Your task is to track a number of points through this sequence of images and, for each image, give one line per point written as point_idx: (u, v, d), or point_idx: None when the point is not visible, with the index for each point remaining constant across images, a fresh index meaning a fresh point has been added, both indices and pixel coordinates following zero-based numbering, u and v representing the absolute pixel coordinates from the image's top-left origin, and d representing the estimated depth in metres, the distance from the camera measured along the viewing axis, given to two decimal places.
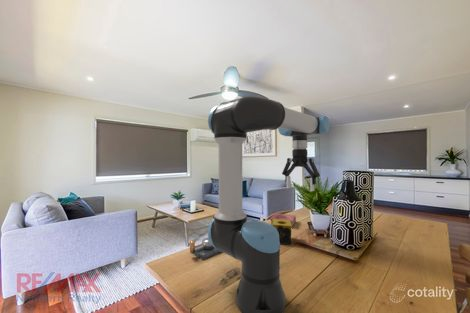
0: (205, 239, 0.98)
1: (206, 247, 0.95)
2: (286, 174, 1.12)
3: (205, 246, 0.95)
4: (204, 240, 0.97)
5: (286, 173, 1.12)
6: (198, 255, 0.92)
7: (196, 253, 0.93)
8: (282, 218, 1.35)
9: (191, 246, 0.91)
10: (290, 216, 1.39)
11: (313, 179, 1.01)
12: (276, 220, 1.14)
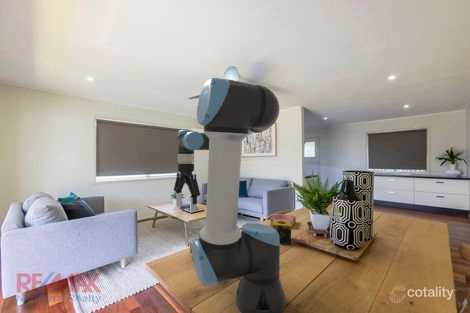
0: None
1: None
2: (176, 191, 1.01)
3: None
4: None
5: (176, 190, 1.01)
6: None
7: None
8: (282, 218, 1.34)
9: (191, 246, 0.91)
10: (290, 216, 1.38)
11: (193, 198, 0.90)
12: (276, 220, 1.14)
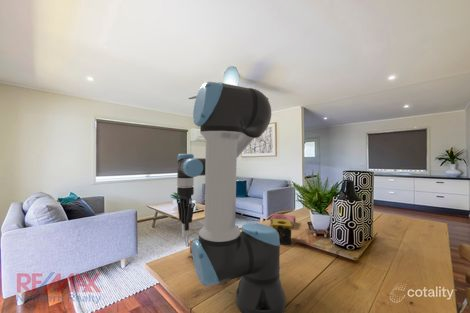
0: None
1: None
2: (181, 220, 0.96)
3: None
4: None
5: (181, 219, 0.97)
6: None
7: None
8: (282, 219, 1.33)
9: (191, 246, 0.91)
10: (290, 217, 1.38)
11: (185, 225, 0.95)
12: (276, 220, 1.14)
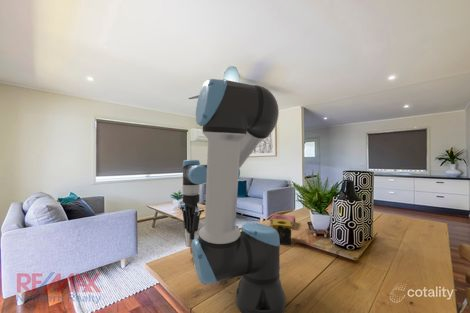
0: None
1: None
2: (187, 228, 0.93)
3: None
4: None
5: (186, 227, 0.93)
6: None
7: None
8: (282, 219, 1.33)
9: None
10: (290, 217, 1.37)
11: (191, 234, 0.91)
12: (276, 220, 1.14)
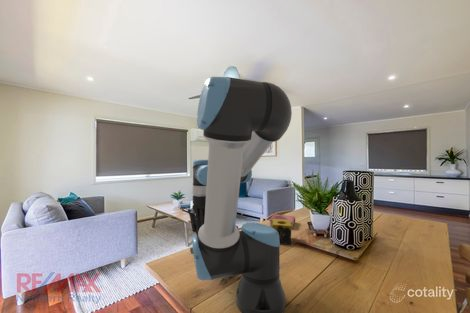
0: None
1: None
2: (197, 231, 0.89)
3: None
4: None
5: (196, 230, 0.89)
6: None
7: None
8: (281, 219, 1.32)
9: None
10: (290, 217, 1.37)
11: None
12: (276, 220, 1.14)
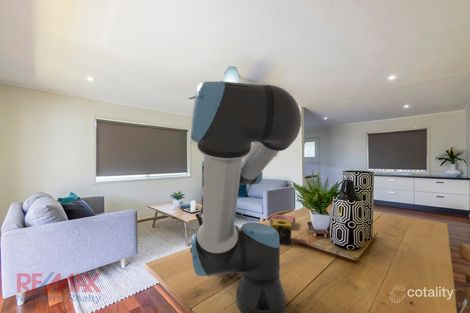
0: None
1: None
2: None
3: None
4: None
5: None
6: None
7: None
8: (281, 219, 1.32)
9: None
10: (290, 217, 1.36)
11: None
12: (276, 220, 1.14)
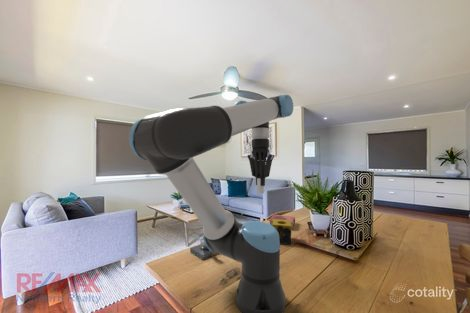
0: None
1: None
2: (256, 175, 0.88)
3: None
4: None
5: (255, 174, 0.89)
6: (198, 255, 0.92)
7: (196, 253, 0.93)
8: None
9: None
10: (290, 218, 1.36)
11: (261, 180, 0.87)
12: (276, 220, 1.14)
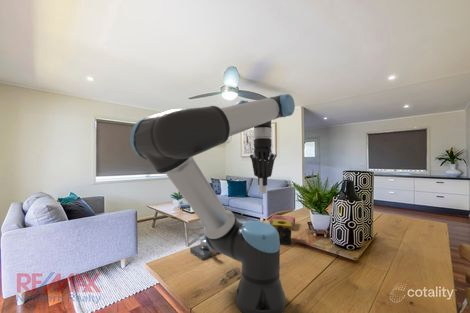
0: (204, 240, 0.97)
1: None
2: (258, 175, 0.88)
3: None
4: None
5: (258, 174, 0.89)
6: (198, 255, 0.92)
7: (196, 253, 0.93)
8: None
9: None
10: (289, 218, 1.35)
11: (263, 179, 0.87)
12: (276, 220, 1.14)
